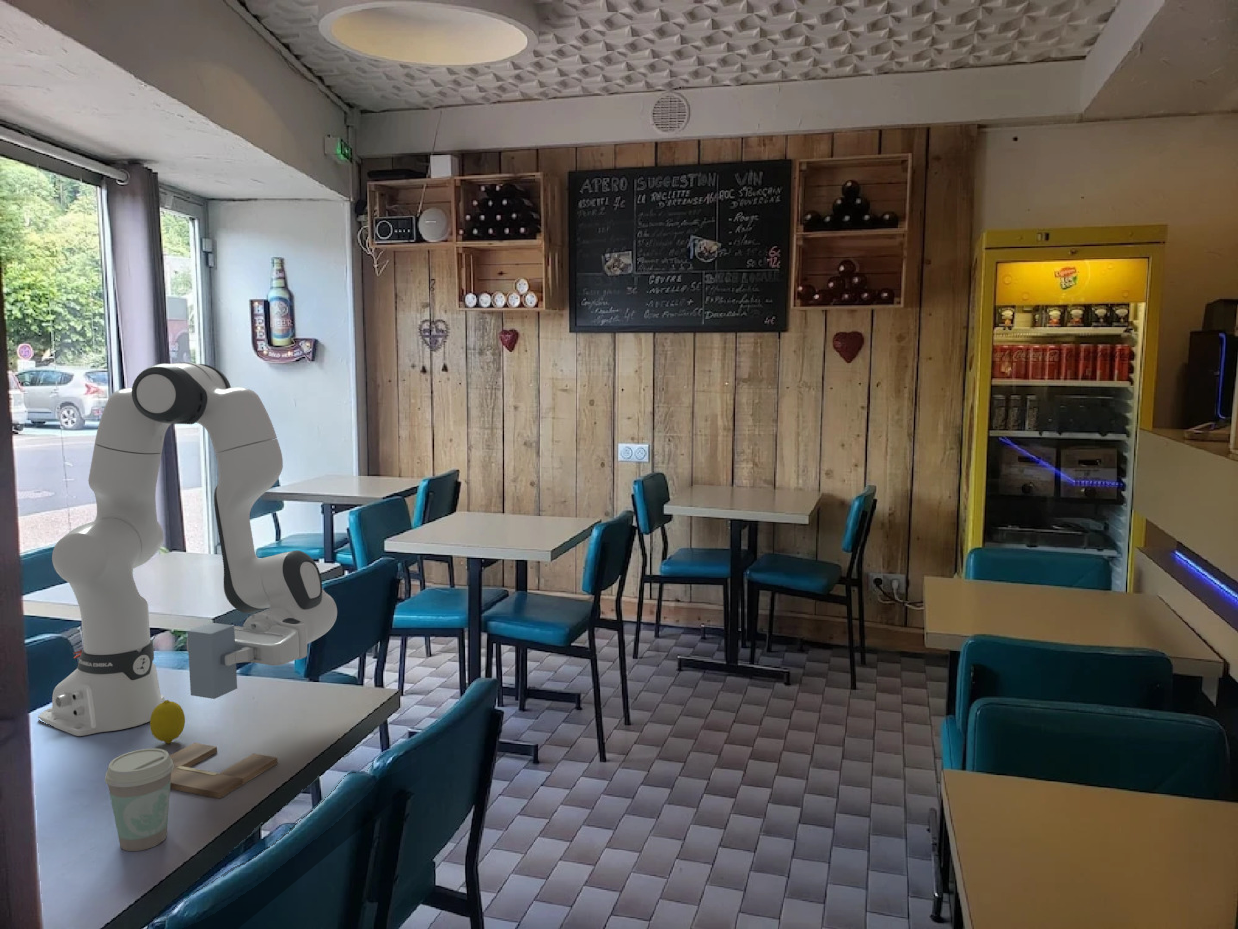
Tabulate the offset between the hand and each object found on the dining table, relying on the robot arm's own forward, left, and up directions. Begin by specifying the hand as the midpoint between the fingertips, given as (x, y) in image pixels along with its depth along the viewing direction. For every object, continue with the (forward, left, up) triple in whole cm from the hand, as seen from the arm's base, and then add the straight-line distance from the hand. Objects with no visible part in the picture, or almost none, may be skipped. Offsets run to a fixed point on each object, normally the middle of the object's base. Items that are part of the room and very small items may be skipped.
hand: (208, 658), depth 143 cm
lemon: (-15, +5, -19) cm, 25 cm away
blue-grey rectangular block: (0, +1, -6) cm, 6 cm away
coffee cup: (+8, -21, -19) cm, 30 cm away
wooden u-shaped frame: (0, -2, -19) cm, 19 cm away
